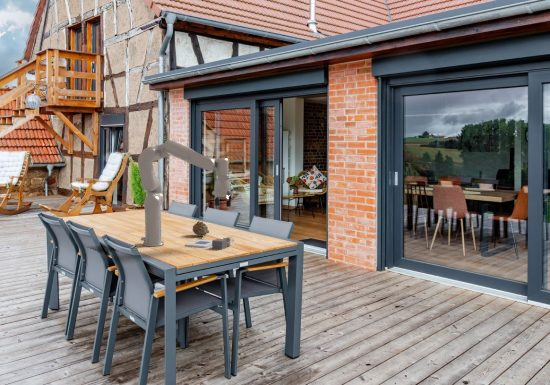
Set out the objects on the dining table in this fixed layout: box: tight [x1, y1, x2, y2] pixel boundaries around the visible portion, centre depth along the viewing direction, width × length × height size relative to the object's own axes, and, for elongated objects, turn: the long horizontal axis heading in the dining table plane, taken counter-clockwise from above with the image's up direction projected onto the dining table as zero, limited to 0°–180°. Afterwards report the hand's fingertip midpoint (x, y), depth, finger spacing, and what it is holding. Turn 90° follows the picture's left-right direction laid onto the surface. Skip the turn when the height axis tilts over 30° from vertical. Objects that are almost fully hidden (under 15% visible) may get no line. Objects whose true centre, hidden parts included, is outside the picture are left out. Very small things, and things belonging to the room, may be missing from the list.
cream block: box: [222, 236, 235, 247], centre depth 298 cm, size 5×5×5 cm
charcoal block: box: [211, 238, 228, 251], centre depth 289 cm, size 6×6×5 cm
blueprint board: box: [184, 239, 213, 249], centre depth 300 cm, size 14×18×1 cm
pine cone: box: [191, 221, 210, 238], centre depth 326 cm, size 22×10×10 cm, turn 37°
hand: (222, 206), depth 297 cm, fingers open, 9 cm apart
